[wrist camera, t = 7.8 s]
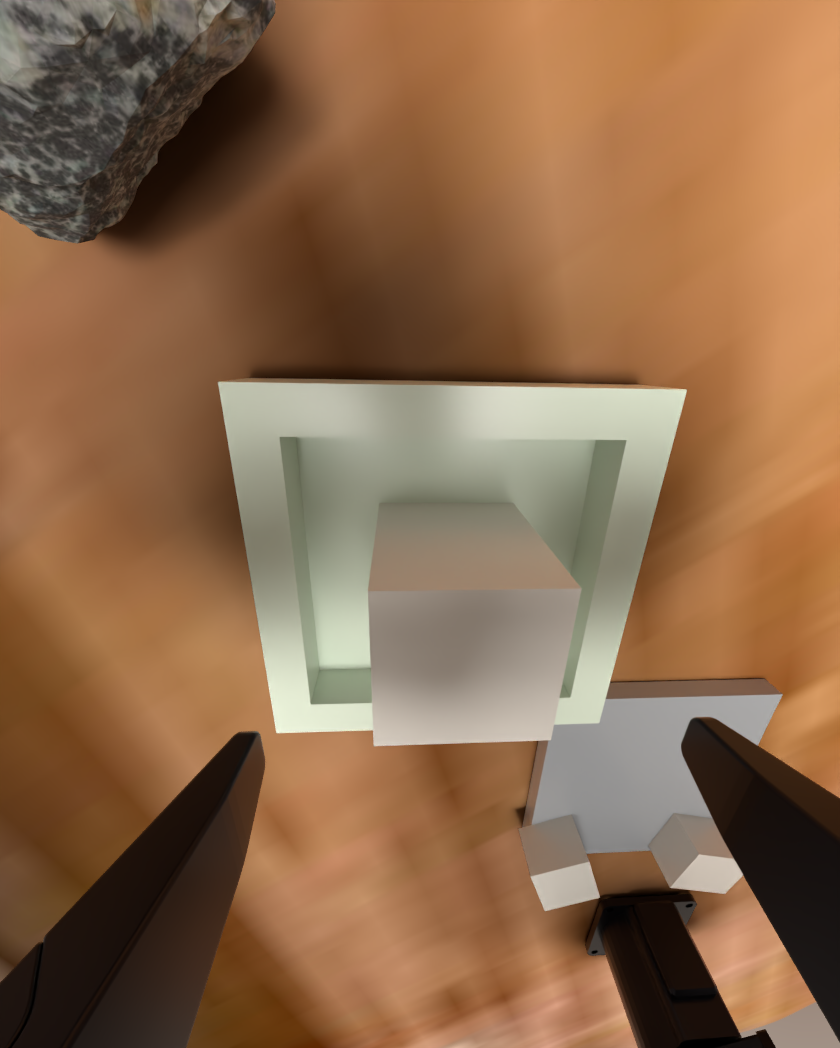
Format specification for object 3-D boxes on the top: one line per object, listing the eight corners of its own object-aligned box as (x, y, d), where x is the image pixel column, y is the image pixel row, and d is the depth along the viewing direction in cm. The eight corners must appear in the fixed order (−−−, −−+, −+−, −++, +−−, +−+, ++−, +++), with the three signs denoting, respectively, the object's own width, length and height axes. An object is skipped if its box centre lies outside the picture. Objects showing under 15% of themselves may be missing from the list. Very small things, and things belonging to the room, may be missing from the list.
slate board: (698, 835, 25) (739, 900, 22) (507, 844, 24) (522, 912, 21) (772, 678, 20) (837, 734, 17) (534, 684, 19) (559, 743, 16)
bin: (575, 679, 19) (599, 723, 17) (291, 686, 18) (276, 733, 16) (639, 384, 14) (687, 389, 12) (248, 378, 13) (217, 381, 11)
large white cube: (500, 614, 17) (550, 740, 11) (382, 616, 17) (373, 746, 11) (513, 502, 15) (581, 588, 9) (379, 502, 15) (367, 590, 9)
